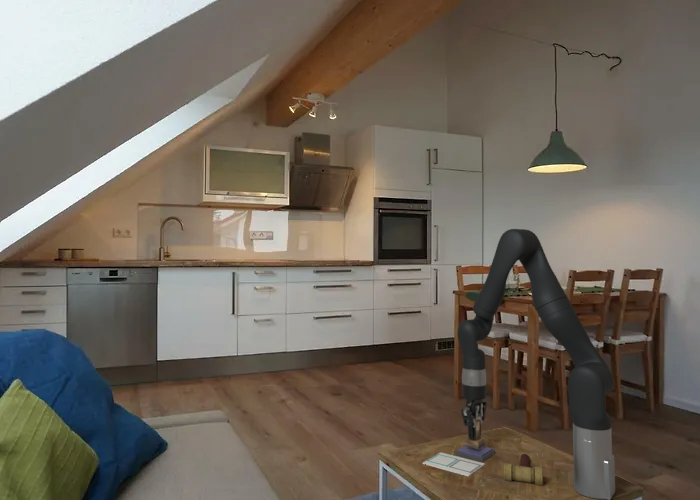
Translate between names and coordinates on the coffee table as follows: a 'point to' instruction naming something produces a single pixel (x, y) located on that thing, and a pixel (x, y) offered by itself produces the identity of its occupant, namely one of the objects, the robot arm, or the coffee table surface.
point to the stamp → (478, 441)
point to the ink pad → (475, 453)
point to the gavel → (523, 472)
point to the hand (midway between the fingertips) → (474, 436)
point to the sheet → (454, 464)
